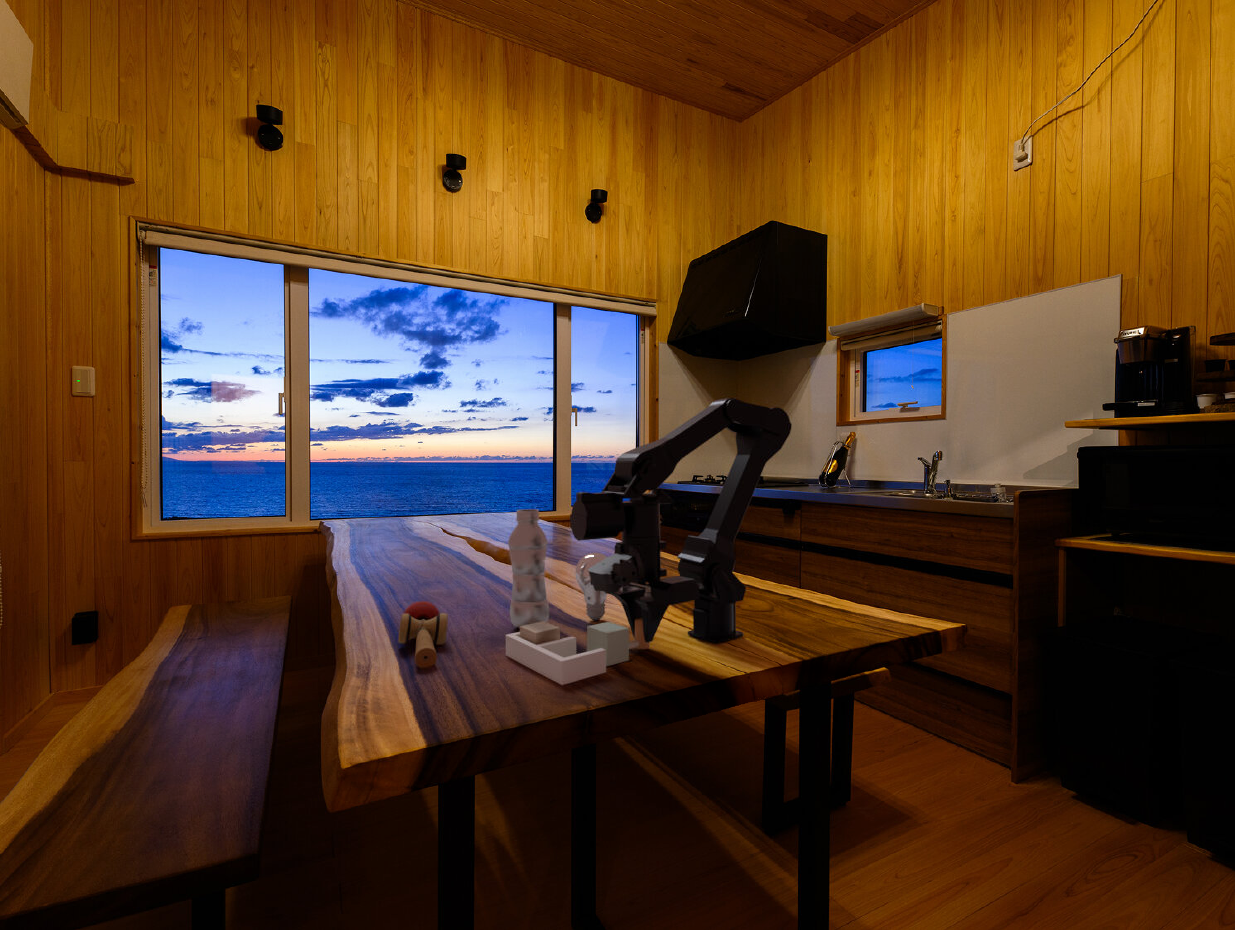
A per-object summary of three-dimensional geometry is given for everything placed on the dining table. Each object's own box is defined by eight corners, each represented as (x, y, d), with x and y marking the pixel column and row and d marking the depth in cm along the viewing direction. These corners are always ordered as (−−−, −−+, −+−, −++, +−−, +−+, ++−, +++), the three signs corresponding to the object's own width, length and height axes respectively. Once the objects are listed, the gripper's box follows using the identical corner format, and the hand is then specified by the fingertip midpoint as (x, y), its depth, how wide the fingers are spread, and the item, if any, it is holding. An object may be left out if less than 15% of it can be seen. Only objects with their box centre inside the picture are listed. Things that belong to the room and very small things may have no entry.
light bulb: (592, 613, 109) (591, 548, 109) (623, 618, 105) (622, 551, 105) (567, 622, 104) (566, 553, 104) (599, 628, 100) (598, 557, 99)
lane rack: (546, 645, 91) (546, 625, 91) (606, 672, 79) (605, 649, 79) (505, 655, 86) (505, 634, 86) (561, 685, 75) (561, 661, 75)
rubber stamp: (637, 645, 90) (637, 615, 90) (657, 652, 87) (658, 621, 87) (586, 658, 84) (587, 626, 84) (606, 666, 81) (607, 633, 81)
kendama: (460, 672, 84) (448, 622, 100) (452, 631, 82) (440, 588, 99) (403, 690, 81) (400, 636, 98) (393, 648, 80) (392, 600, 96)
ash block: (543, 651, 88) (543, 621, 88) (560, 658, 85) (559, 627, 85) (520, 657, 86) (519, 626, 86) (536, 665, 82) (535, 632, 82)
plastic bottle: (542, 633, 97) (540, 511, 97) (503, 631, 98) (501, 511, 98) (554, 622, 103) (552, 508, 103) (517, 621, 105) (516, 508, 104)
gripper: (561, 534, 90) (563, 636, 90) (640, 547, 76) (642, 669, 76) (618, 528, 97) (620, 623, 97) (701, 539, 83) (703, 650, 83)
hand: (642, 639), depth 88 cm, fingers closed on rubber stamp, 2 cm apart
